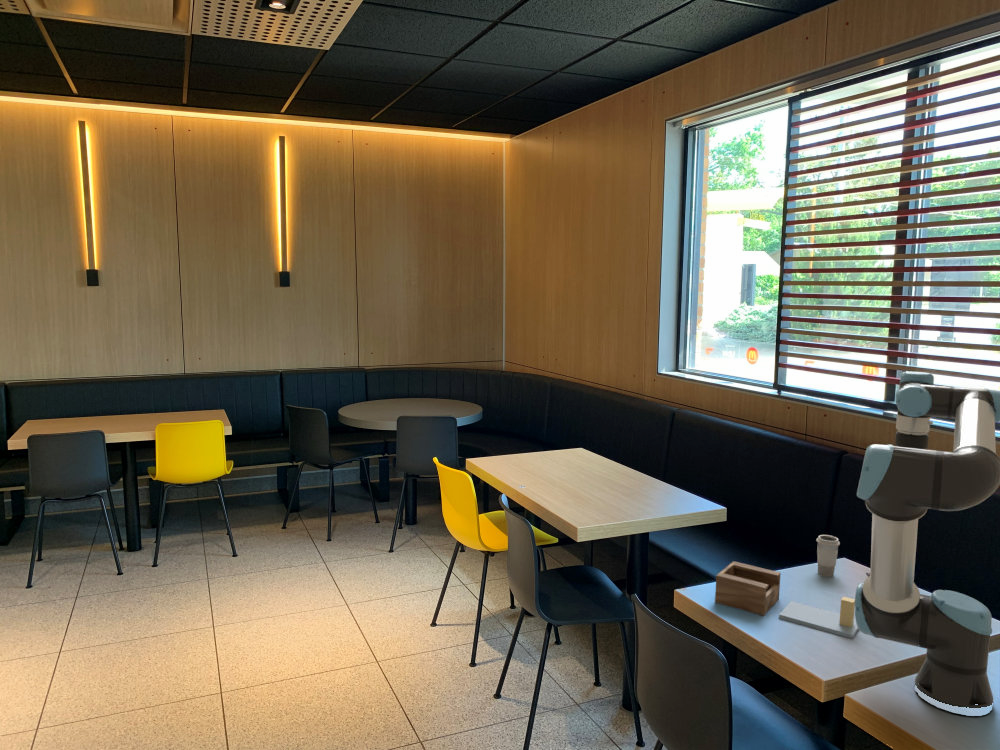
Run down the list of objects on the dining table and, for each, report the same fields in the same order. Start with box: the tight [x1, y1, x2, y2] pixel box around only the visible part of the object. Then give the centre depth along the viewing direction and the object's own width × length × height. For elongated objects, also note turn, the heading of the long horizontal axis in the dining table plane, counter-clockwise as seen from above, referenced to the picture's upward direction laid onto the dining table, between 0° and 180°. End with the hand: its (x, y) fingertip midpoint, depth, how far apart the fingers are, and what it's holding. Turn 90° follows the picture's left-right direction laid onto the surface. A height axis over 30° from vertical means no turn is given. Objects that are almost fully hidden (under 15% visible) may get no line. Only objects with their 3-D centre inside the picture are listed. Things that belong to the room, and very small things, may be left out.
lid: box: [778, 596, 860, 639], centre depth 205 cm, size 11×19×8 cm, turn 53°
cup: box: [815, 534, 841, 578], centre depth 237 cm, size 7×7×12 cm
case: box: [714, 561, 782, 617], centre depth 217 cm, size 14×14×8 cm
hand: (905, 512), depth 193 cm, fingers open, 13 cm apart
